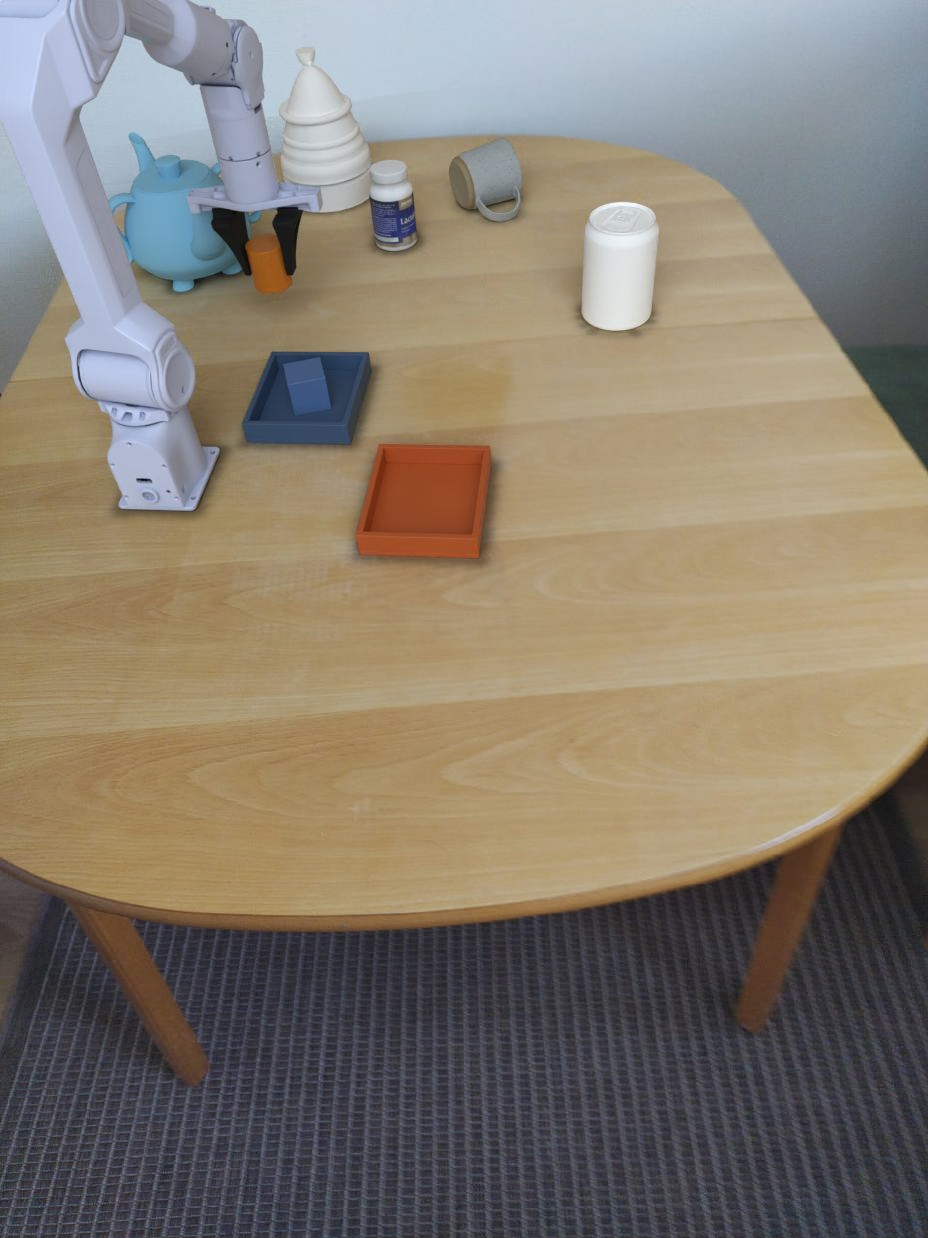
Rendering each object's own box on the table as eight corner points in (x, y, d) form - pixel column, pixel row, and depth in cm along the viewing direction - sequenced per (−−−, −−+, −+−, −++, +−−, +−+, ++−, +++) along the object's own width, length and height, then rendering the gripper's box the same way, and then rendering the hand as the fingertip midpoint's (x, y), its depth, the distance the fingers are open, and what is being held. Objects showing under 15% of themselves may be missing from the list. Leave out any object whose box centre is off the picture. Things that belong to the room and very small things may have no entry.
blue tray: (350, 444, 99) (347, 425, 97) (247, 442, 100) (241, 423, 98) (371, 370, 107) (368, 351, 105) (276, 369, 108) (271, 351, 107)
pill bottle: (412, 253, 124) (404, 177, 116) (370, 251, 125) (359, 176, 117) (422, 232, 128) (415, 157, 120) (381, 230, 129) (371, 155, 121)
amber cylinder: (288, 293, 108) (278, 252, 105) (251, 293, 109) (240, 252, 105) (296, 274, 111) (287, 233, 108) (260, 274, 112) (250, 233, 108)
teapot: (232, 307, 118) (202, 195, 107) (99, 290, 123) (57, 182, 112) (287, 243, 128) (264, 136, 117) (162, 230, 133) (129, 125, 122)
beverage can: (570, 326, 110) (573, 227, 101) (597, 292, 115) (601, 194, 106) (635, 341, 108) (644, 240, 99) (660, 305, 112) (671, 206, 103)
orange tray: (479, 558, 87) (477, 539, 85) (359, 554, 88) (355, 535, 86) (491, 465, 95) (490, 445, 93) (382, 462, 96) (378, 443, 94)
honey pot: (280, 181, 141) (252, 47, 127) (363, 165, 142) (344, 31, 129) (296, 219, 132) (267, 80, 119) (384, 201, 134) (366, 62, 121)
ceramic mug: (447, 199, 133) (443, 144, 127) (497, 184, 135) (496, 128, 130) (483, 231, 127) (481, 174, 121) (536, 214, 129) (536, 157, 123)
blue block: (331, 408, 102) (325, 377, 99) (295, 416, 102) (287, 384, 99) (326, 387, 105) (319, 356, 102) (290, 394, 104) (283, 363, 101)
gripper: (318, 132, 100) (339, 253, 111) (188, 134, 102) (220, 253, 112) (304, 161, 96) (327, 284, 106) (168, 163, 98) (203, 284, 108)
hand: (271, 271), depth 109 cm, fingers closed on amber cylinder, 4 cm apart
